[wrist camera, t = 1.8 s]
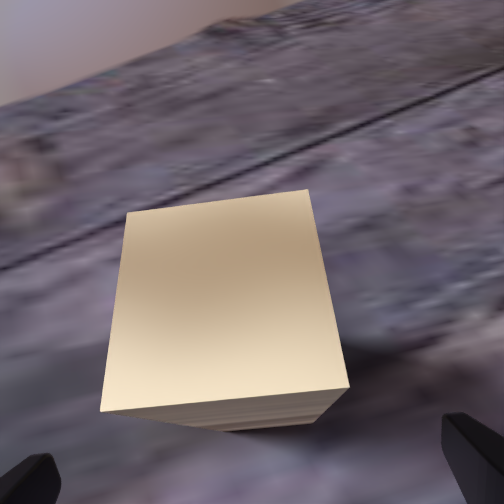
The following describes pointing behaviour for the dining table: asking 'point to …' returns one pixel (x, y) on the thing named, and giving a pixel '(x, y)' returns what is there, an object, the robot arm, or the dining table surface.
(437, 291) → the dining table surface
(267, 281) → the maple pillar
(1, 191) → the dining table surface
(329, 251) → the dining table surface
